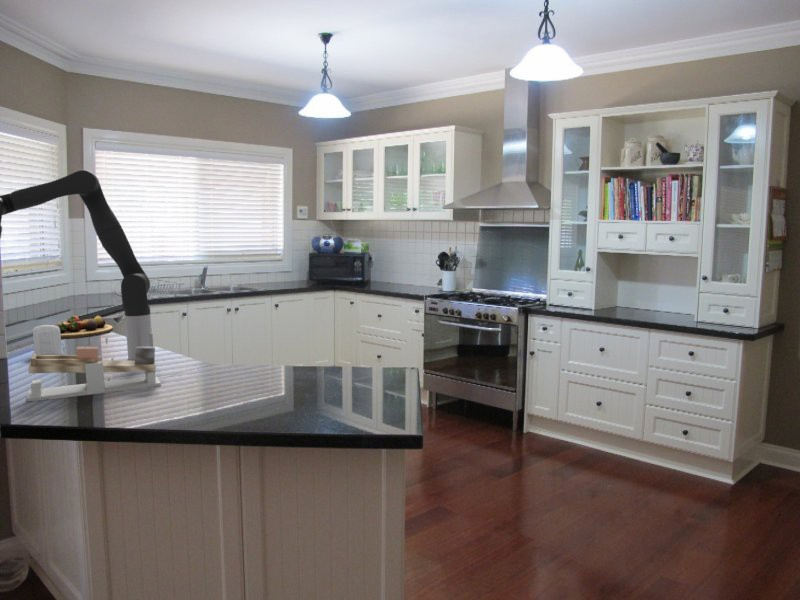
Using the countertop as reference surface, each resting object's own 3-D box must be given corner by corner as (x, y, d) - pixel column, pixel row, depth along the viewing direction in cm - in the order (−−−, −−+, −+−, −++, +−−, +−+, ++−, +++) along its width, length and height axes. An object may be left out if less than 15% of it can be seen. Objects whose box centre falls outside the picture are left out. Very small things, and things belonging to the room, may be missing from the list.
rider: (97, 361, 216) (97, 346, 215) (97, 364, 211) (98, 349, 211) (76, 362, 213) (76, 346, 213) (76, 364, 208) (76, 349, 208)
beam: (152, 366, 225) (153, 345, 224) (155, 371, 217) (156, 350, 216) (30, 367, 209) (30, 345, 209) (28, 373, 201) (29, 350, 201)
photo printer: (63, 353, 275) (61, 323, 274) (60, 355, 271) (57, 325, 270) (37, 354, 274) (34, 324, 273) (33, 356, 270) (30, 326, 268)
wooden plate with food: (48, 331, 338) (46, 314, 337) (116, 326, 347) (115, 310, 346) (34, 341, 307) (32, 324, 306) (109, 336, 317) (108, 319, 316)
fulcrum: (156, 378, 227) (154, 350, 226) (160, 385, 217) (158, 357, 215) (29, 393, 211) (26, 363, 210) (26, 402, 200) (23, 371, 199)
